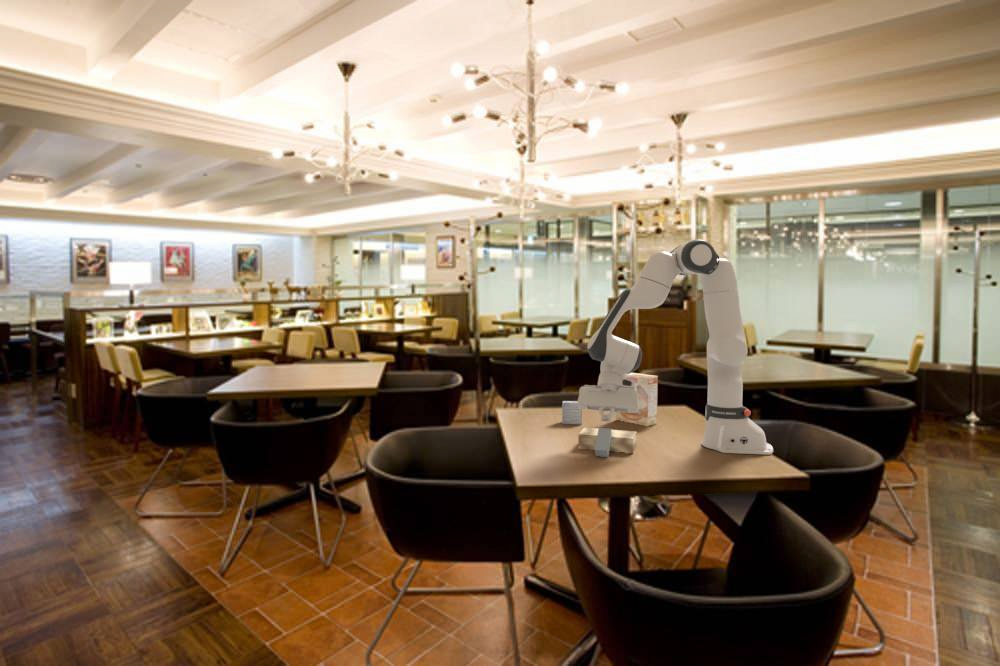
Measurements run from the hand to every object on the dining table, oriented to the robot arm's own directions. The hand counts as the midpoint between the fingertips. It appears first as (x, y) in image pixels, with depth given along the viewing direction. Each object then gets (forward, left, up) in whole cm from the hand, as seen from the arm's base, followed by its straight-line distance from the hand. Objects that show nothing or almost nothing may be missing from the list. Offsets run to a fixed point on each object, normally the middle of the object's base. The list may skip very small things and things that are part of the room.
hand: (605, 420), depth 189 cm
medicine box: (+19, -37, -11) cm, 43 cm away
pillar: (0, 0, -4) cm, 4 cm away
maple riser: (0, -6, -10) cm, 12 cm away
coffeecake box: (-5, -48, -11) cm, 49 cm away
